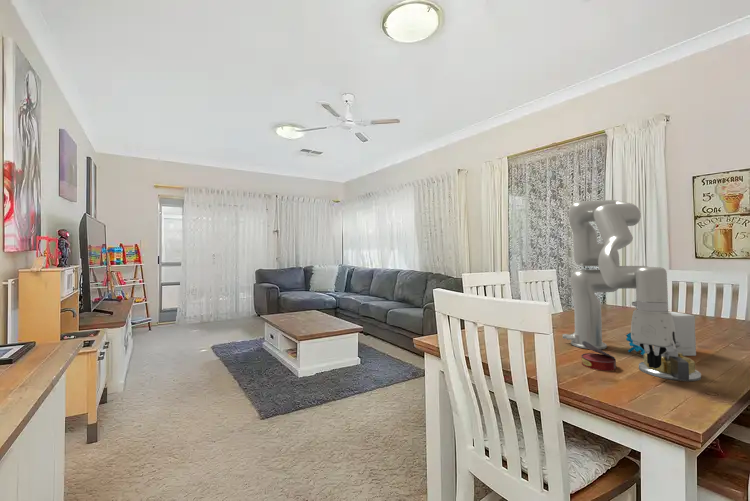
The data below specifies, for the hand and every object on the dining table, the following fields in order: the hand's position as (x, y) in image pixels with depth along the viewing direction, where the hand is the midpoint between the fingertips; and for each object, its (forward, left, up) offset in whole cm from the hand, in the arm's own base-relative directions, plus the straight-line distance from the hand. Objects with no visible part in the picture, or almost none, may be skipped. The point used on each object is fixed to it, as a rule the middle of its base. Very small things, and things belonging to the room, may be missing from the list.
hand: (654, 367), depth 103 cm
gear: (+3, +28, -4) cm, 29 cm away
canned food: (-13, +8, -4) cm, 16 cm away
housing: (+6, +8, -4) cm, 10 cm away
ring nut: (+6, +5, -2) cm, 8 cm away
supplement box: (+16, +35, -4) cm, 38 cm away
